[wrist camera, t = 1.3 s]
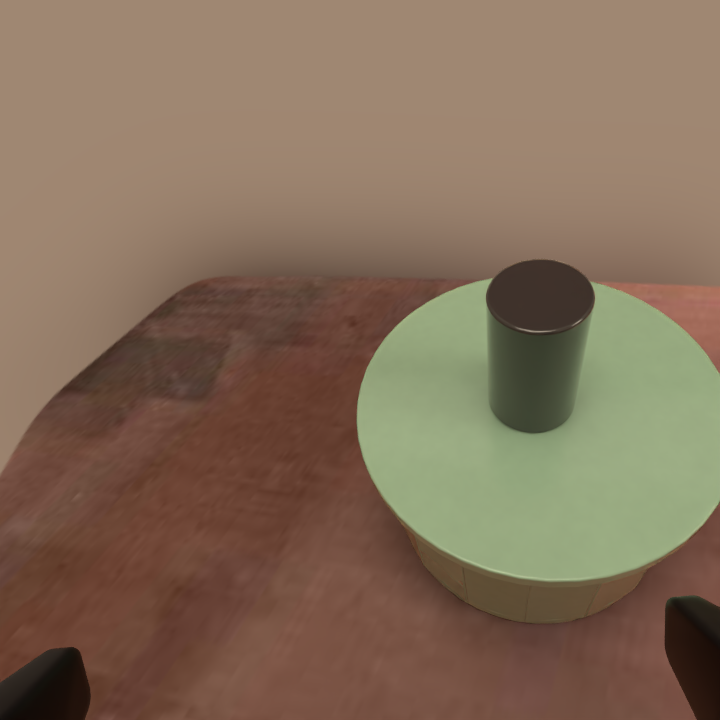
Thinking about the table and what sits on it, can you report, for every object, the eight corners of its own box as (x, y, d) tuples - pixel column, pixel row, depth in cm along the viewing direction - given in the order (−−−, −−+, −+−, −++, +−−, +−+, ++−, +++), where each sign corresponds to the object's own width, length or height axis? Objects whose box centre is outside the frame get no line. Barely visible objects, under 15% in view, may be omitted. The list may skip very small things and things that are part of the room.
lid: (789, 385, 19) (890, 240, 14) (600, 694, 14) (651, 639, 10) (488, 257, 25) (486, 129, 20) (297, 445, 21) (237, 338, 16)
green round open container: (709, 471, 23) (768, 378, 18) (568, 692, 19) (594, 652, 14) (492, 355, 29) (491, 260, 24) (351, 509, 25) (315, 434, 20)
